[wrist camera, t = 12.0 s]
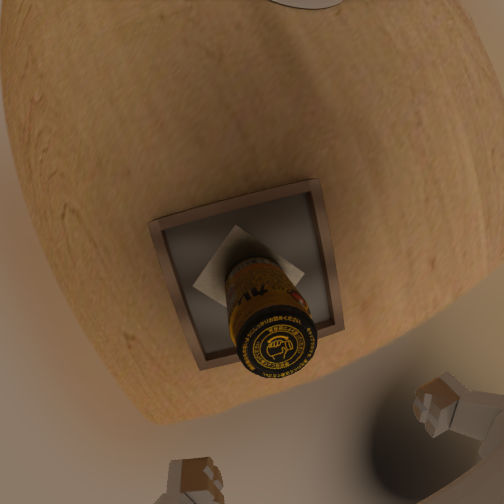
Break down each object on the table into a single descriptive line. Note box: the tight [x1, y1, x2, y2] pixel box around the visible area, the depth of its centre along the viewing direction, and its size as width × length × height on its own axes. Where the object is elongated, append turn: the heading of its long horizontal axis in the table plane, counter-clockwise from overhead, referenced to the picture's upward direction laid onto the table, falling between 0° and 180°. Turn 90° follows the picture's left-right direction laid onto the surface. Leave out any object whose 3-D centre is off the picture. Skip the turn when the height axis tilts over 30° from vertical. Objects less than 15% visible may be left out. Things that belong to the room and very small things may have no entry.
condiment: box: [193, 225, 318, 378], centre depth 23 cm, size 7×8×12 cm
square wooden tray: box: [148, 178, 345, 371], centre depth 28 cm, size 16×16×2 cm
